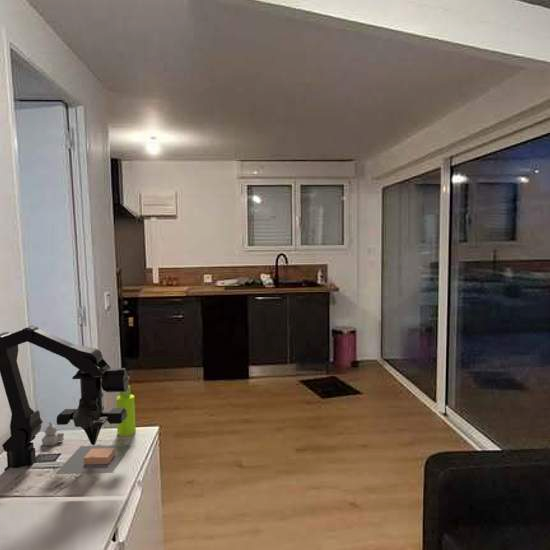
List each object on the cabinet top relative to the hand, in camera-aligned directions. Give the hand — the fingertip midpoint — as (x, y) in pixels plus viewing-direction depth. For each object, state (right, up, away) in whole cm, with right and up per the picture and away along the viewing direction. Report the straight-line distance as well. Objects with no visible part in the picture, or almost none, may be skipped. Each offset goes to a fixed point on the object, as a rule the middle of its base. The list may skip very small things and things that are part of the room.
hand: (93, 444), depth 138 cm
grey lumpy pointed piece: (-18, -5, +13) cm, 23 cm away
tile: (-2, -4, 0) cm, 4 cm away
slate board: (0, -5, +1) cm, 6 cm away
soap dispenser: (+3, -4, +20) cm, 21 cm away
